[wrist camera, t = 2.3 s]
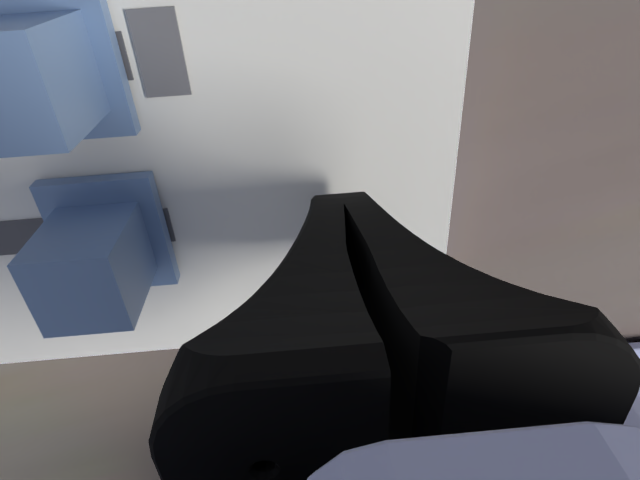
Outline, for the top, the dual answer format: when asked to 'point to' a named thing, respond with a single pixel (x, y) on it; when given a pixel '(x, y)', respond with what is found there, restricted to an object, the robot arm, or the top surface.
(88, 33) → the switch tab
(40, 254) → the switch tab
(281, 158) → the switch board
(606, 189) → the top surface
